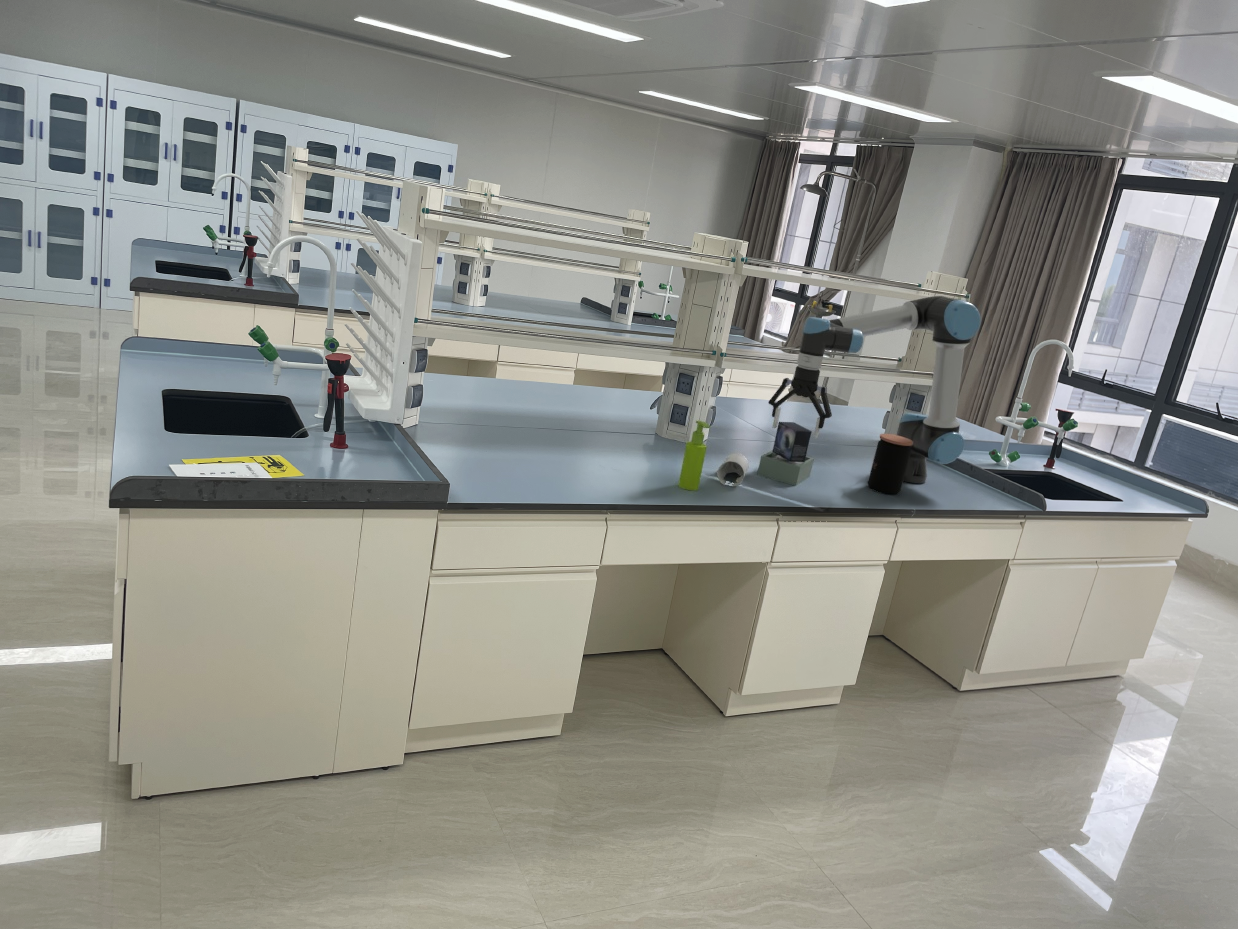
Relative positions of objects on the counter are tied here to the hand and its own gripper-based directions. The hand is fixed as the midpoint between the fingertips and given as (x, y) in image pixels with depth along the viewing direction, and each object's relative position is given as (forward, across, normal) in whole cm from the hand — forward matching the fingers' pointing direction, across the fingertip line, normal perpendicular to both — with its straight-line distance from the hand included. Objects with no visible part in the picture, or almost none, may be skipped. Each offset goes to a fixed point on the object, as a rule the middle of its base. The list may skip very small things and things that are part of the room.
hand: (794, 432), depth 280 cm
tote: (+15, 0, 0) cm, 15 cm away
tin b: (+14, 0, -4) cm, 15 cm away
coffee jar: (+16, +28, +20) cm, 38 cm away
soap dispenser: (+15, -17, -40) cm, 46 cm away
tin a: (+15, 0, +3) cm, 15 cm away
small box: (+8, 0, 0) cm, 9 cm away
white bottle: (+15, -12, -20) cm, 28 cm away
